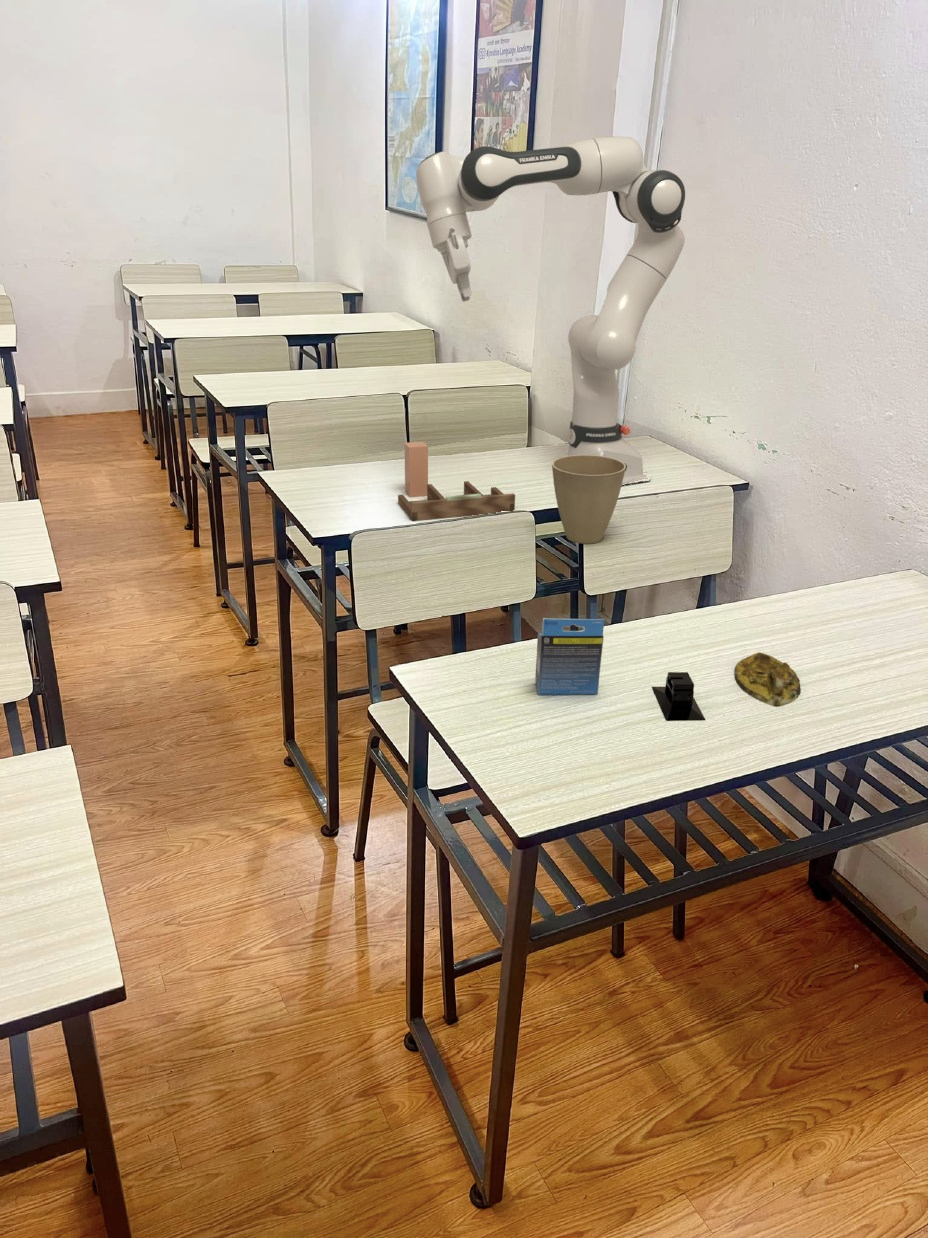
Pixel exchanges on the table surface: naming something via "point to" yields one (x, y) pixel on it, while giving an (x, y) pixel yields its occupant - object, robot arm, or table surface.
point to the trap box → (457, 504)
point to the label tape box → (569, 657)
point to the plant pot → (586, 494)
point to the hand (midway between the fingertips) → (467, 298)
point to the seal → (767, 679)
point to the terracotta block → (416, 469)
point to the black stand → (678, 698)
